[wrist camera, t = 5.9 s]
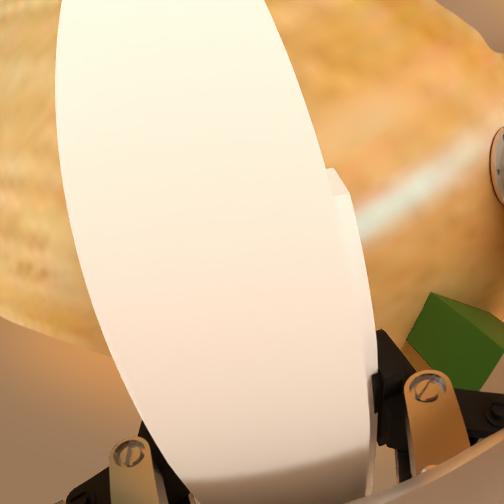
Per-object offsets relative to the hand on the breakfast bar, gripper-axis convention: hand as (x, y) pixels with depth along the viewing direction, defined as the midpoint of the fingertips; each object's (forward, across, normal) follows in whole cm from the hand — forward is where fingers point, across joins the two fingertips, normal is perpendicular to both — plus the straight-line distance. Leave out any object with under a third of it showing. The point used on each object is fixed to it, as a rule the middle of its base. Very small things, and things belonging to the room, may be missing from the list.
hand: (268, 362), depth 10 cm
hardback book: (+21, -27, +22) cm, 41 cm away
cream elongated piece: (+4, 0, 0) cm, 4 cm away
